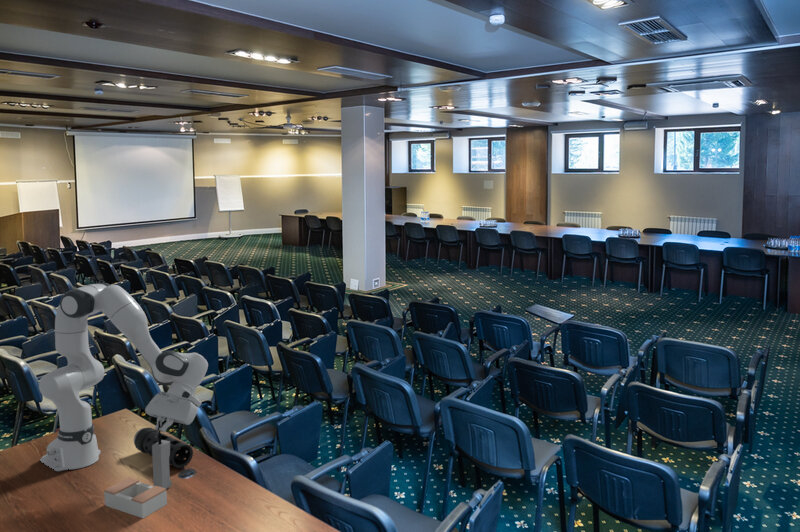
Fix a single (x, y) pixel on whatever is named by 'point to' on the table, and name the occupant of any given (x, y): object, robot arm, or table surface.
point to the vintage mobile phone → (161, 462)
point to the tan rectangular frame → (135, 497)
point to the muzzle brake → (150, 437)
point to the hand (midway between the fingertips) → (159, 430)
